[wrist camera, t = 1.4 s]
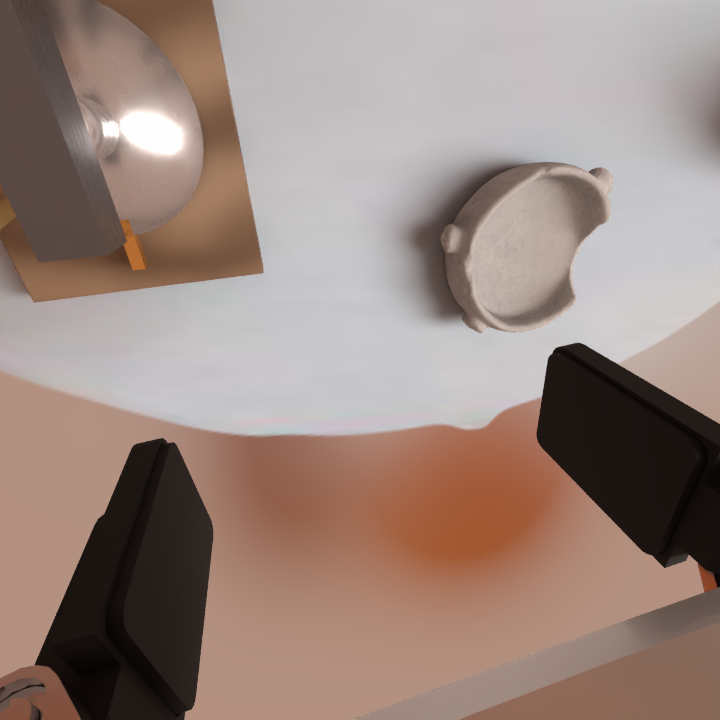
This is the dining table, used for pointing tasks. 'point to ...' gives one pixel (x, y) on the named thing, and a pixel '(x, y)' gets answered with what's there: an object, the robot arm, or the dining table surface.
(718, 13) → the dining table surface
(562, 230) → the dish
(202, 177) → the dial stand
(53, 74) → the door handle
